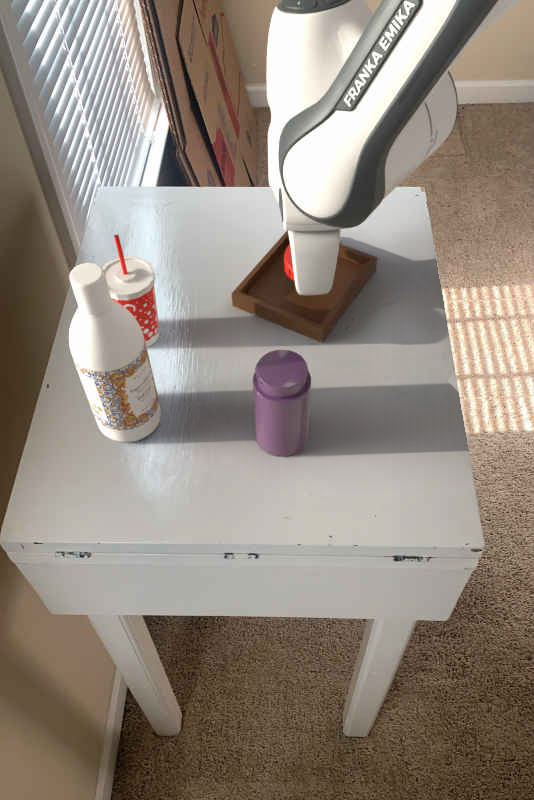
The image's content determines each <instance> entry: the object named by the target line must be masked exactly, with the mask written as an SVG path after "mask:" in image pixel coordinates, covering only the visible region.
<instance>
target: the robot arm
mask: <svg viewBox="0 0 534 800" xmlns="http://www.w3.org/2000/svg"><path fill="white" fill-rule="evenodd" d="M520 2H522V0H381V2H380V4H379V5H378V7H377V8H376V10H375V11H374V13H373V11H372V9H371V8H370V6H369V4H368V2H367V0H280V1H279V2H278V4H277V5H276V6H275V7H274V10H273V12H272V14H271V19H270V24H269V28H268V37H267V46H266V47H267V48H266V99H267V104H268V106H269V109H270V115H271V116H270V123H269V127H268V132H267V164H268V165H267V167H268V168H267V171H268V173H267V174H268V175H267V176H268V184H269V185H268V186H269V187H270V189H271V191H273V194H274V197H275V199H276V202H277V203H278V208H279V211H280V217H281V222H282V225H283V226H282V227H283V229H284V231H285V232H286V231H288V234H289V240H290V247H291V255H292V263H293V272H294V280H295V286H296V290H297V293H298V294H299V295H304V296H313V295H325V294H327V293H329V291H330V290H331V288H332V285H333V280H334V274H335V269H336V263H337V257H338V250H339V244H341V242H340V241H341V232H342V231H341V230H343V229H352V228H356V227H358V226H360V225H362V224H363V223H364V222H365V221H366V220H367V219H368V218H369V217H370V216H371V215H372V214H373V212H375V210H376V209H377V208H378V207H379V206H380V205H381V203H382V202H383V200H384V199H385V198H386V197H388V196H389V195H390V194H391V193H392V192H393V191H395V189H397V188H398V186H399V185H401V184H402V183H403V182H404V181H405V180H406V179H408V177H410V176H411V174H413V173H414V172H415V171H416V170H418V168H419V167H420V166H421V165H422V164H424V163H425V161H427V160H428V159H429V158H430V157H431V156H432V155H433V154H434V153H435V152H436V151H437V150H438V149H439V148H440V147H441V146H442V145H443V144H444V143H445V142H446V141H447V140H448V139H449V137H450V136H451V134H452V133H453V131H454V129H455V126H456V123H457V120H458V119H457V118H458V112H459V103H458V102H459V99H458V93H457V87H456V84H455V81H454V79H453V76H452V74H451V72H450V70H451V69H452V67H453V66H454V64H455V63H456V62H457V61H458V59H459V58H460V57H461V56H462V55H463V54H464V52H465V51H466V50H467V49H468V48H469V47H470V46H471V45H472V44H473V43H474V42H475V41H476V40H477V39H478V38H479V37H480V36H481V35H482V34H483V33H484V32H485V31H486V30H488V29H489V28H490V27H491V26H492V25H493V24H494V23H495V22H497V21H498V20H499V19H500V18H501V17H503V16H504V15H505V14H506V13H508V12H509V11H510V10H511V9H512V8H514V7H515V6H517V5H518V4H519V3H520Z"/></svg>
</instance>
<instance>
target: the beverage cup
mask: <svg viewBox="0 0 534 800" xmlns="http://www.w3.org/2000/svg"><path fill="white" fill-rule="evenodd" d="M113 236H114V241H115V246H116V249H117V253H118V254H117V255H118V257H117V258H113V259H111V260H110V261H108V262H106V263H104V265H102V266H101V267H102V269H103V270H104V273H105V277H106V280H107V284H108V288H109V291H110V295H111V299H113V300H114V301H116V302H118V303H119V304H121V305H122V306H124V307H125V308H126V309H127V310H128V311H129V312H130V313H131V314H132V315H133V316H134V317H135V319H136V320H137V322H138V324H139V325H140V328H141V330H142V332H143V335H144V339H145V343H146V347H147V348H149V347H151V346H153V345H154V344H155V343H157V341H158V340H159V338H160V333H161V331H160V323H159V314H158V307H157V299H156V298H157V297H156V291H155V282H156V276H155V275H156V273H155V270H154V266H153V265H152V264H151V263H150V262H149V261H148V260H146V259H144V258H141V257H138V256H134V255H133V256H128V255H127V256H126V255H125V256H124V252H123V248H122V243H121V240H120V239H121V238H120V235H119V234H114V235H113Z"/></svg>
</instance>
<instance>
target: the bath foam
mask: <svg viewBox="0 0 534 800" xmlns="http://www.w3.org/2000/svg"><path fill="white" fill-rule="evenodd" d="M102 267H103V266H101V265H99V264H97V263H95V262H82V263H81V264H78V265H76V266H74V267H73V268H72V269H71V271H70V273H69V281H70V285H71V288H72V291H73V294H74V297H75V299H76V303H77V305H78V307H77V309H76V311H75V313H74V315H73V317H72V320H71V323H70V326H69V331H68V332H69V333H68V343H69V350H70V354H71V357H72V360H73V362H74V365H75V368H76V370H77V373H78V376H79V379H80V381H81V383H82V387H83V389H84V392H85V394H86V398H87V401H88V403H89V405H90V409H91V411H92V414H93V416H94V418H95V421H96V424H97V426H98V429H99V431H100V432H101V433H102V434H103V435H104V436H105V437H107V438H109V439H110V440H112V441H115V442H120V443H132V442H133V443H134V442H138V441H140V440H142V439H145V438H147V437H148V436H149V435H151V434H152V433H153V432H154V431H155V430H156V429H157V427H158V426H159V424H160V422H161V419H162V408H161V403H160V399H159V394H158V390H157V387H156V382H155V377H154V373H153V368H152V365H151V361H150V357H149V351H148V347H146V343H145V339H144V335H143V332H142V330H141V328H140V325H139V324H138V322H137V320H136V319H135V317H134V316H133V315H132V314H131V313H130V312H129V311H128V310H127V309H126V308H125V307H124V306H122V305H121V304H119V303H118V302H116V301H114V300H113V299H111V295H110V291H109V288H108V284H107V280H106V277H105V273H104V270H103V269H102Z"/></svg>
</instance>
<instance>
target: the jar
mask: <svg viewBox="0 0 534 800" xmlns="http://www.w3.org/2000/svg"><path fill="white" fill-rule="evenodd" d="M254 370H255V371H254V372H253V375H252V393H253V394H252V395H253V410H254V411H253V412H254V430H255V432H254V433H255V440H256V443H257V445H258V447H259V448H260V449H261V450H262V451H263V452H265V453H267V454H268V455H270V456H274V457H280V458H281V457H283V458H284V457H290V456H293V455H295V454H298V453H300V451H301V450H303V449H304V448H305V446H306V445H307V443H308V440H309V432H310V431H309V430H310V411H311V397H312V396H311V395H312V375H311V372H310V371H309V367H308V363H307V362H306V360H305V358H304V357H303V356H302V355H300V354H299V353H297V352H295V351H293V350H290V349H274V350H271V351H268V352H267V353H265V354H264V355H262V357H260V359H259V360H258V361H257V363H256V365H255V368H254Z"/></svg>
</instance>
